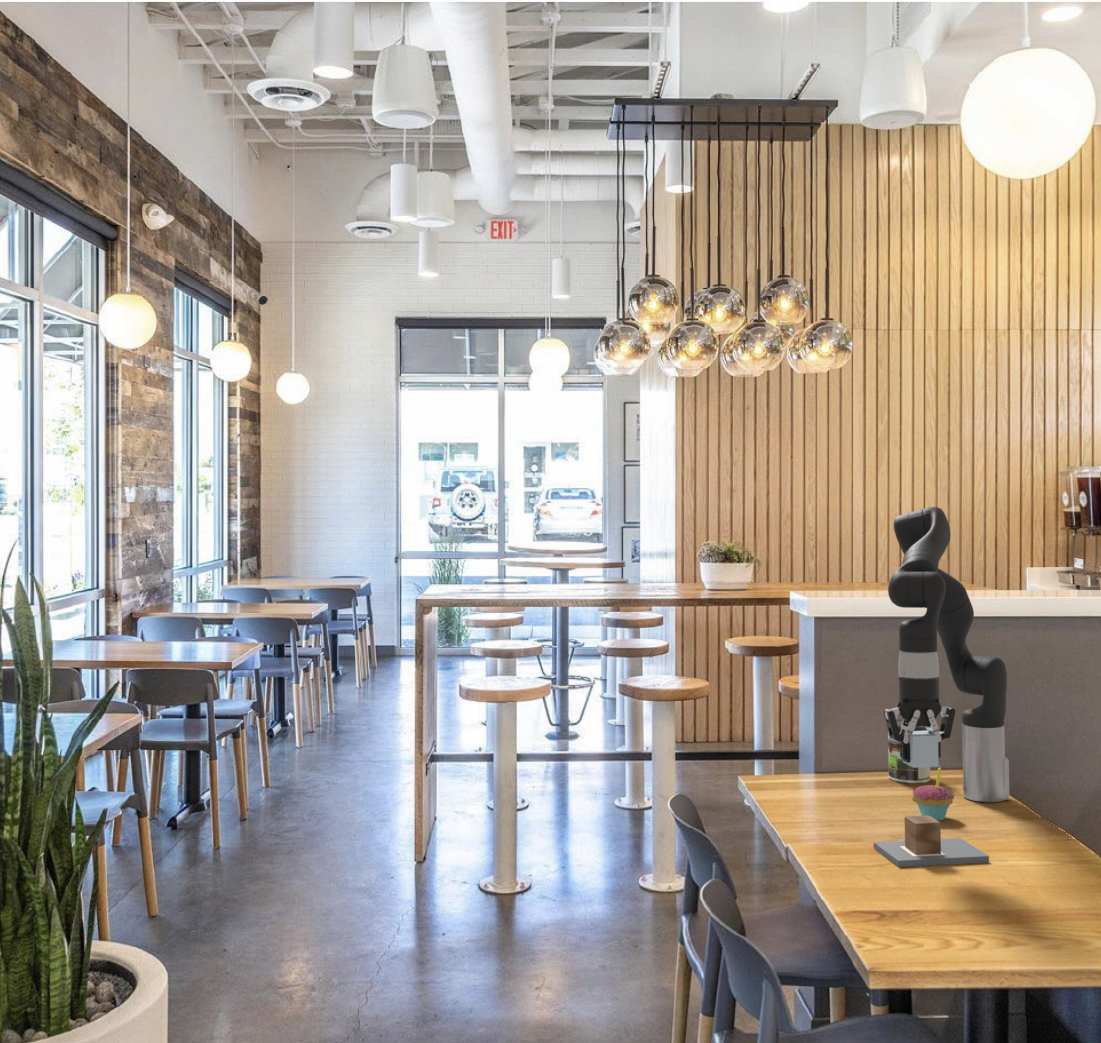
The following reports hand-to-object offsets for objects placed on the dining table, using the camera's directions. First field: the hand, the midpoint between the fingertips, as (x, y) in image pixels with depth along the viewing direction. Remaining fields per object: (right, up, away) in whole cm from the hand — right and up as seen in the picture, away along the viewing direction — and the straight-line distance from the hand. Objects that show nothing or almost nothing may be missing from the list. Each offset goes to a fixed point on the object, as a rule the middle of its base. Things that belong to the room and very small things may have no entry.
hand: (920, 760), depth 213 cm
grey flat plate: (+2, -19, +1) cm, 19 cm away
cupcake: (+12, -19, +27) cm, 35 cm away
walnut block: (+1, -17, 0) cm, 17 cm away
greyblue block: (0, -1, 0) cm, 1 cm away
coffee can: (+19, -18, +63) cm, 68 cm away
